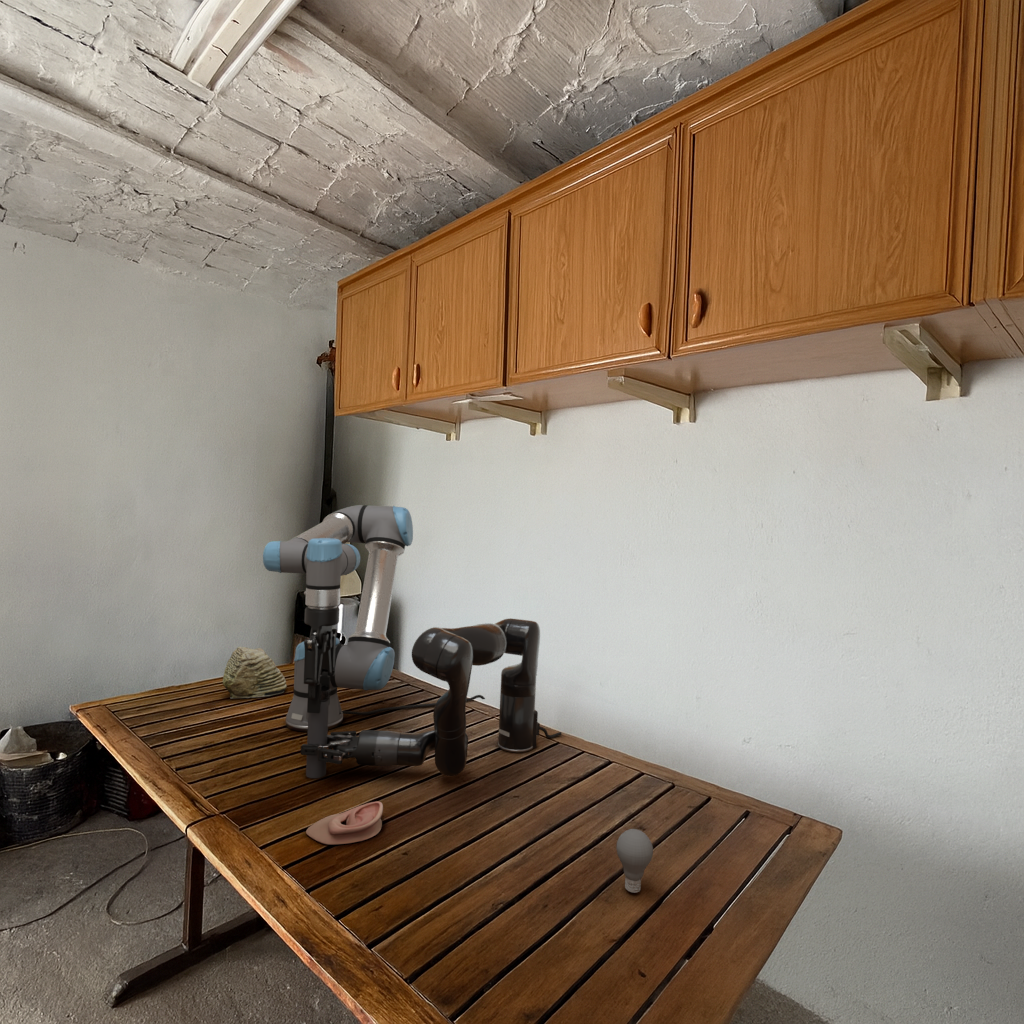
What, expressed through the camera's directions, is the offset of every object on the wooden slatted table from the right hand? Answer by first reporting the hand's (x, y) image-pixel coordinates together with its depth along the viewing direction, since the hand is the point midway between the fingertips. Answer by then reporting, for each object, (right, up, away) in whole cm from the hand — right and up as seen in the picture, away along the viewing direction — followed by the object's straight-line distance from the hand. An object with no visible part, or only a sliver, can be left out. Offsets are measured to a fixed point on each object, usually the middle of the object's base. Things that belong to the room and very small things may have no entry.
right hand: (305, 745), depth 144 cm
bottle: (+2, -7, 0) cm, 7 cm away
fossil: (-33, -4, +54) cm, 63 cm away
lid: (+3, +13, 0) cm, 13 cm away
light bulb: (+67, -10, -39) cm, 78 cm away
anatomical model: (+15, -8, -23) cm, 29 cm away
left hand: (+3, +8, 0) cm, 9 cm away
